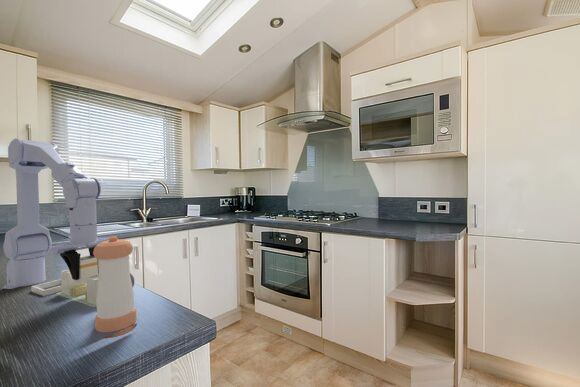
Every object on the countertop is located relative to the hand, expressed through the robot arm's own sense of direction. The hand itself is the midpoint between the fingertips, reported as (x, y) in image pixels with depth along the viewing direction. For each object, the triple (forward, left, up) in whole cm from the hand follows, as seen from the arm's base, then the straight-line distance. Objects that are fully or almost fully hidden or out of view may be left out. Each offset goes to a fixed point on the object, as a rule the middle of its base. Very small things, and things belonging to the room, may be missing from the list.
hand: (85, 276), depth 75 cm
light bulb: (+16, -3, -6) cm, 17 cm away
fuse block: (0, 0, -6) cm, 6 cm away
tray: (-14, +1, -6) cm, 16 cm away
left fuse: (-6, +1, -5) cm, 8 cm away
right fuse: (+6, -1, -5) cm, 8 cm away
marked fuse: (0, 0, -1) cm, 1 cm away
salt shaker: (+22, -9, -6) cm, 24 cm away
